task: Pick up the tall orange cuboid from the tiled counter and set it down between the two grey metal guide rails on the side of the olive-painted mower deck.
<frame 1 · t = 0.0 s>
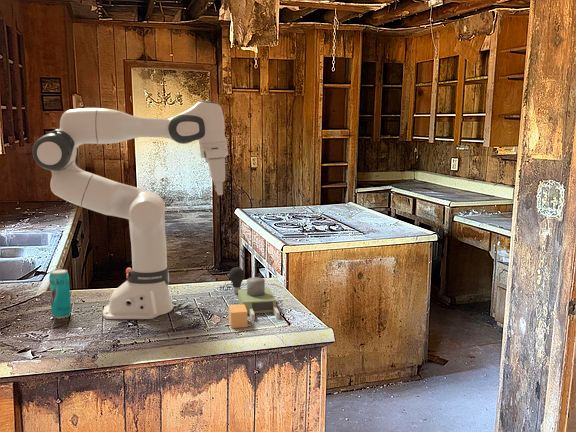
hand: (219, 193, 177), 39 cm above the countertop, tool pointing down, fingers open, 8 cm apart
beverage can: (61, 316, 172), on the countertop
light bulb: (236, 294, 197), on the countertop
mower deck: (256, 306, 183), on the countertop
tall orange cuboid: (238, 323, 167), on the countertop
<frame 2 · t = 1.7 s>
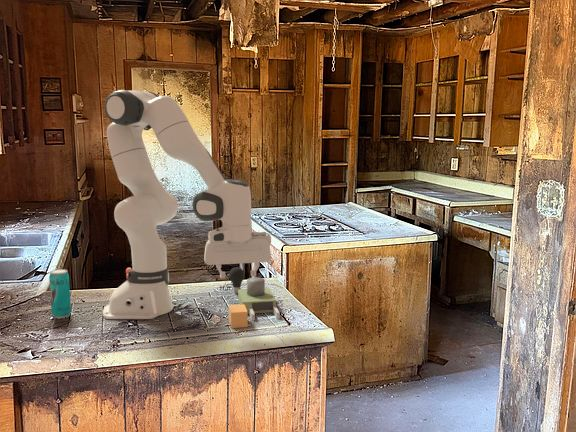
hand: (238, 277, 165), 15 cm above the countertop, tool pointing down, fingers open, 8 cm apart
nothing on the countertop moved.
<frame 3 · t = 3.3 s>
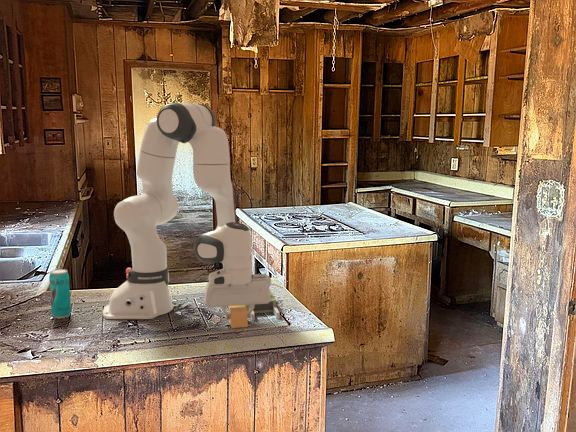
hand: (238, 318, 167), 2 cm above the countertop, tool pointing down, fingers closed on tall orange cuboid, 5 cm apart
tall orange cuboid: (238, 323, 167), on the countertop, touching gripper
everything else where it was.
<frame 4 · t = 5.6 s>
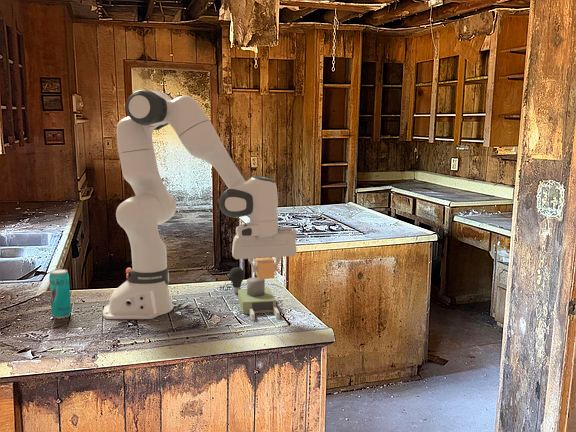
hand: (264, 270, 170), 15 cm above the countertop, tool pointing down, fingers closed on tall orange cuboid, 5 cm apart
tall orange cuboid: (264, 275, 170), point 14 cm above the countertop, touching gripper
everything else where it was.
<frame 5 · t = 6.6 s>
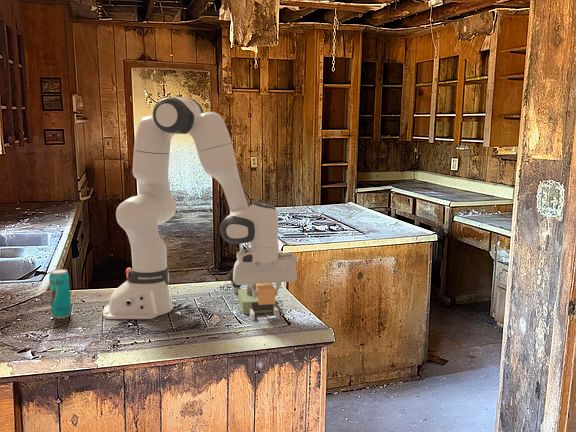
hand: (265, 296, 171), 7 cm above the countertop, tool pointing down, fingers closed on tall orange cuboid, 5 cm apart
tall orange cuboid: (265, 300, 171), point 5 cm above the countertop, touching gripper
everything else where it was.
when the fingers open (4 cm above the countertop, at t = 7.5 s): tall orange cuboid drops 2 cm, on the countertop.
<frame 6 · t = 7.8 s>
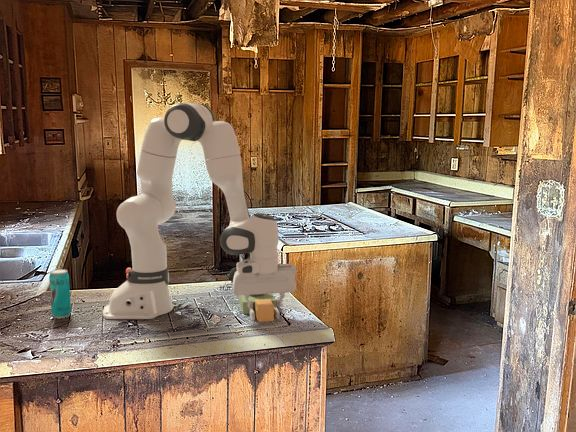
hand: (264, 306, 172), 4 cm above the countertop, tool pointing down, fingers open, 8 cm apart
tall orange cuboid: (264, 317, 172), on the countertop
everything else where it was.
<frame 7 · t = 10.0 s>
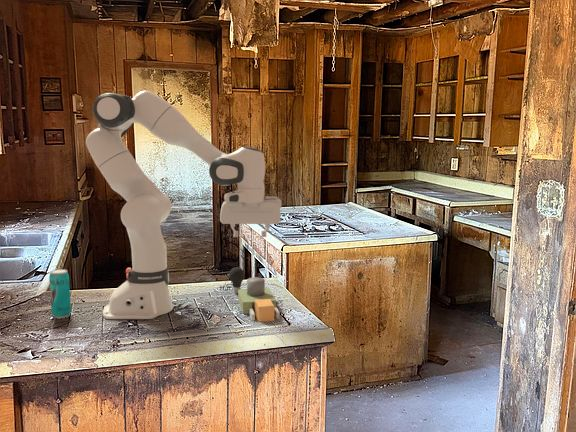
hand: (249, 236, 180), 24 cm above the countertop, tool pointing down, fingers open, 8 cm apart
nothing on the countertop moved.
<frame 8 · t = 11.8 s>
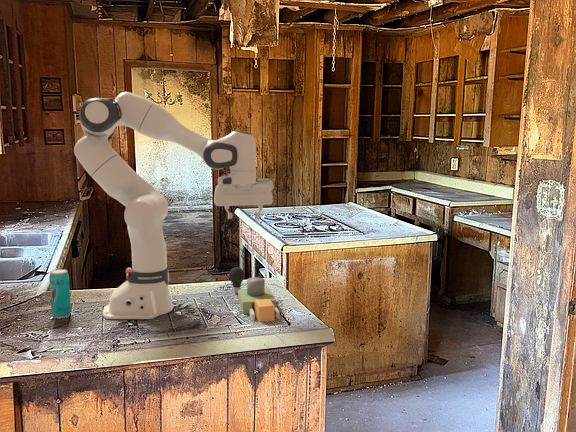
hand: (243, 218, 186), 29 cm above the countertop, tool pointing down, fingers open, 8 cm apart
nothing on the countertop moved.
at the end: tall orange cuboid 0.3 cm from the target spot on the mower deck, point 0.0 cm above the mower deck's base; tall orange cuboid tilted 0°; the gripper is holding nothing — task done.
